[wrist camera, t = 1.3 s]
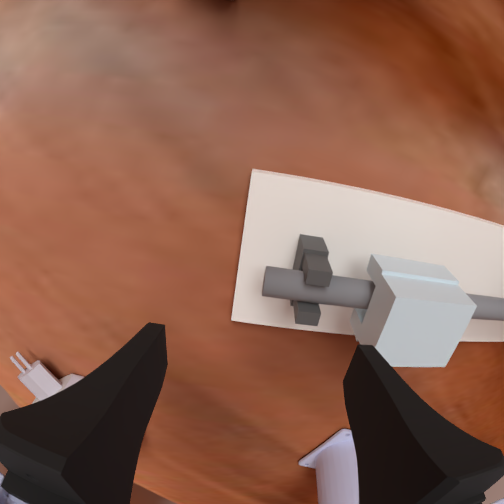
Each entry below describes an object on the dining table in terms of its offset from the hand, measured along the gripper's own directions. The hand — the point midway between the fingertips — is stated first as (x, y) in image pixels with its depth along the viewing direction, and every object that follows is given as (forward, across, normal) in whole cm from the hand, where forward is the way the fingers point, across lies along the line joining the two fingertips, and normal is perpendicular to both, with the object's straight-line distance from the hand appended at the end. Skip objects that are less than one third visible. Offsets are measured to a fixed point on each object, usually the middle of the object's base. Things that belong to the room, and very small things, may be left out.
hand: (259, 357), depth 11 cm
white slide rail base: (+10, -13, +1) cm, 16 cm away
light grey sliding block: (+6, -8, 0) cm, 10 cm away
